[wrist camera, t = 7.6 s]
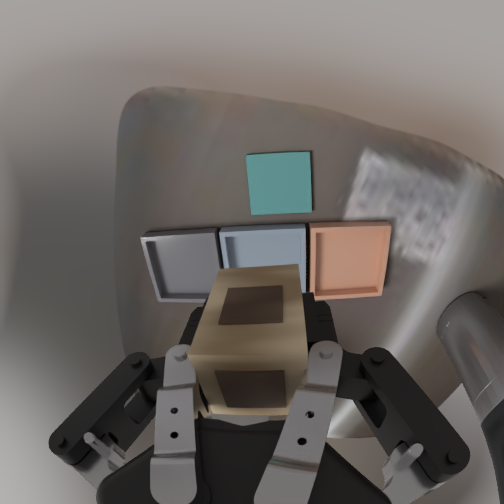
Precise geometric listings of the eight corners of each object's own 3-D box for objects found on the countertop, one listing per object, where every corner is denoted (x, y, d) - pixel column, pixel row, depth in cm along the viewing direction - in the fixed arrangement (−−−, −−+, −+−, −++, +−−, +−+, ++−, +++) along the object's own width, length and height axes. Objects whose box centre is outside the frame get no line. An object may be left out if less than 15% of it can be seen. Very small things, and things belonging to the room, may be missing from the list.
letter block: (298, 261, 14) (307, 353, 8) (300, 324, 15) (305, 415, 10) (219, 267, 14) (186, 354, 9) (231, 327, 16) (212, 415, 10)
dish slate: (304, 223, 28) (305, 228, 26) (304, 292, 31) (305, 300, 30) (221, 227, 29) (219, 232, 27) (231, 294, 32) (229, 302, 31)
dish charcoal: (217, 227, 29) (214, 232, 27) (227, 295, 32) (225, 302, 31) (146, 232, 30) (140, 237, 28) (162, 294, 33) (158, 301, 32)
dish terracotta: (386, 220, 27) (391, 225, 25) (377, 288, 30) (381, 295, 29) (309, 222, 28) (310, 228, 26) (308, 292, 31) (309, 300, 30)
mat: (309, 151, 25) (309, 151, 24) (311, 211, 27) (311, 212, 27) (246, 154, 25) (245, 155, 25) (251, 213, 28) (251, 214, 27)
